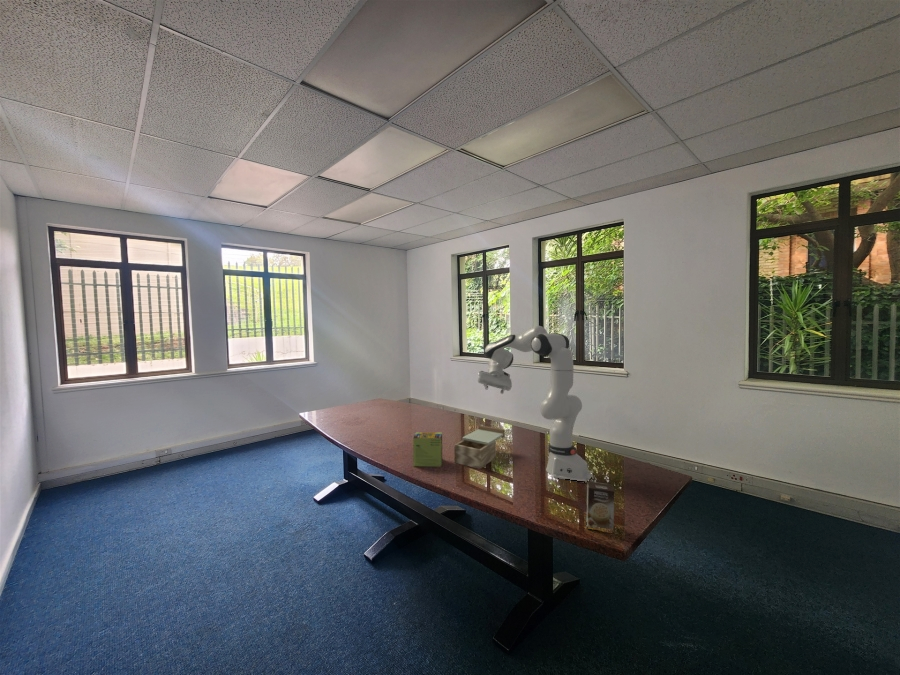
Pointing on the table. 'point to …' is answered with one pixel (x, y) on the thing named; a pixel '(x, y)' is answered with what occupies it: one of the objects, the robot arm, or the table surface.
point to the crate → (474, 453)
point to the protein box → (427, 449)
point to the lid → (485, 435)
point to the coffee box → (600, 505)
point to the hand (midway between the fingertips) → (494, 390)
